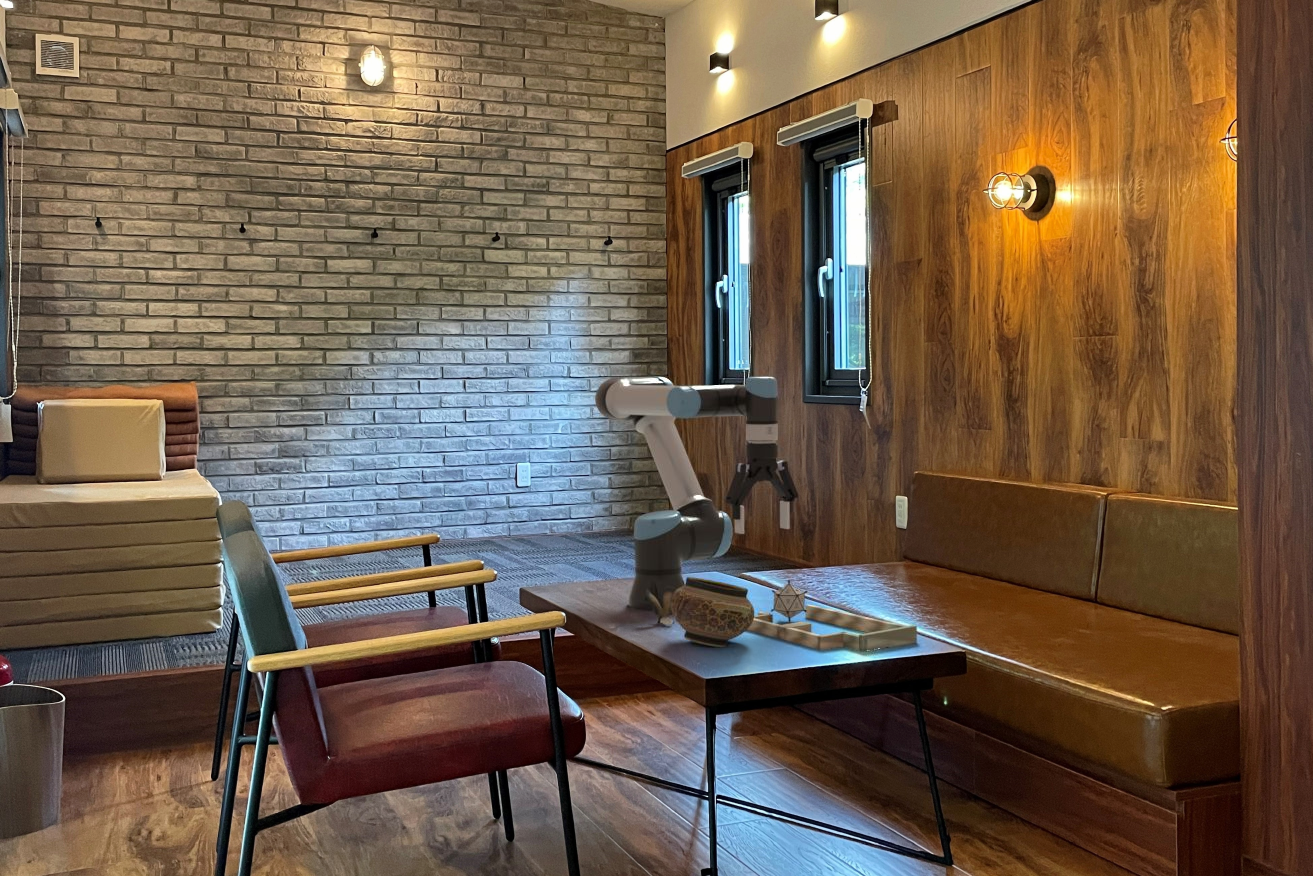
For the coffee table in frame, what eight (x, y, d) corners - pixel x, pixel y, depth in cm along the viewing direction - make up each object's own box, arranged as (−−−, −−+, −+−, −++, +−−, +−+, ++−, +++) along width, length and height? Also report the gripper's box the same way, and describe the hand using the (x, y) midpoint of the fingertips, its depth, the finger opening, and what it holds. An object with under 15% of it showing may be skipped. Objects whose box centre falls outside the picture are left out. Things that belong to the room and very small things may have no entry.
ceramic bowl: (651, 640, 267) (650, 572, 267) (723, 631, 275) (722, 565, 274) (700, 663, 245) (699, 589, 244) (777, 653, 252) (776, 581, 251)
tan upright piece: (664, 622, 286) (663, 584, 286) (685, 626, 281) (685, 587, 281) (640, 627, 281) (639, 589, 280) (662, 631, 276) (661, 592, 275)
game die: (806, 626, 278) (805, 583, 277) (769, 626, 280) (768, 582, 279) (809, 619, 287) (808, 576, 286) (773, 618, 288) (772, 576, 288)
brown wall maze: (737, 628, 277) (736, 613, 277) (809, 616, 289) (809, 602, 289) (841, 656, 248) (840, 639, 248) (917, 642, 260) (916, 626, 259)
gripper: (729, 445, 279) (729, 537, 280) (812, 440, 292) (813, 528, 294) (709, 443, 285) (710, 533, 287) (792, 438, 299) (793, 524, 300)
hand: (762, 530), depth 290 cm, fingers open, 13 cm apart
